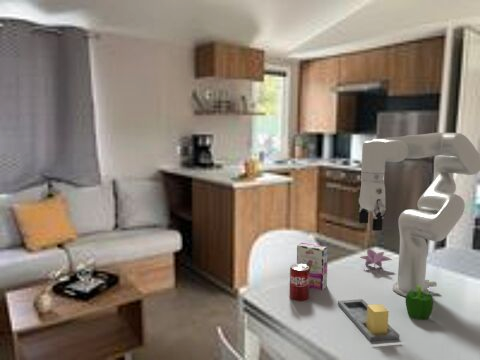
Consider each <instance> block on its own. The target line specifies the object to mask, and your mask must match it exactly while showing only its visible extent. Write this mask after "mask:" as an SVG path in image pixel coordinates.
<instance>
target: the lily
mask: <svg viewBox="0 0 480 360" xmlns="http://www.w3.org/2000/svg"><path fill="white" fill-rule="evenodd" d="M384 254H385V252H384V251H381V252H375V250H373V249H371V248H366V255H363V256H360V259H362V260H365V263H364V265H365V266H369V265H372V264H374V266H378V267H379V268H382V267H383V265H382V264H383V262H386V261H392V258H391V257H388V256H385V255H384Z"/></svg>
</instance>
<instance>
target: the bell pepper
mask: <svg viewBox="0 0 480 360" xmlns="http://www.w3.org/2000/svg"><path fill="white" fill-rule="evenodd" d="M416 287H417V288H418V291H412V290H410V291H409V292H408V294H407V296H405V306H406V311H407V314H408V316H409V317H411V318H412V319H413V318H414V319H416V320H427V319H428V318H430V317H431V313H432V311H433V308H434V299H433V296H432V294H430V293H429V294H425V293H424V292H422V291H421V287H420V286H418V285H417V286H416Z"/></svg>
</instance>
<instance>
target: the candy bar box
mask: <svg viewBox="0 0 480 360" xmlns="http://www.w3.org/2000/svg"><path fill="white" fill-rule="evenodd" d="M296 249H297V250H296V264H304V265H307V266H309V268H310V289H317V290H321V291H323V290H324V289H326V288H327V287H328V262H329V261H328V260H329V259H328V257H329V254H328V253H329V246H323V245H318V244H313V243H312V244H311V243H305V242H301V243H299V244H297V246H296Z"/></svg>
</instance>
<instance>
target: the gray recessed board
mask: <svg viewBox="0 0 480 360" xmlns="http://www.w3.org/2000/svg"><path fill="white" fill-rule="evenodd" d="M337 305H338V306H339V308H340V309H341V310H342V312H343V313H345V314H346V316H347V317H348V318H349V319H350V321H352V323H353V324H354V325H355V326H356V327H357V328H358V329H359V331H360V332H361V333H362V334H363V335H364V337H365V338H366V339H367V340H368V341H369V343H375V342H384V341H385V342H387V341H398V340H400V334H399V333H398V332H397V331H396V330H395V329H394V328H393V327H392V326H391V325H390V324H389V323H388V329H387V333H377V334H371V332H370V331H369V330H368V329H367V328H366V321H367V305H369V304H368V303H367V302H366V301H365V300H364V299H363V298H361V299H359V298H358V299H347V300H346V299H345V300H338V301H337Z"/></svg>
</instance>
